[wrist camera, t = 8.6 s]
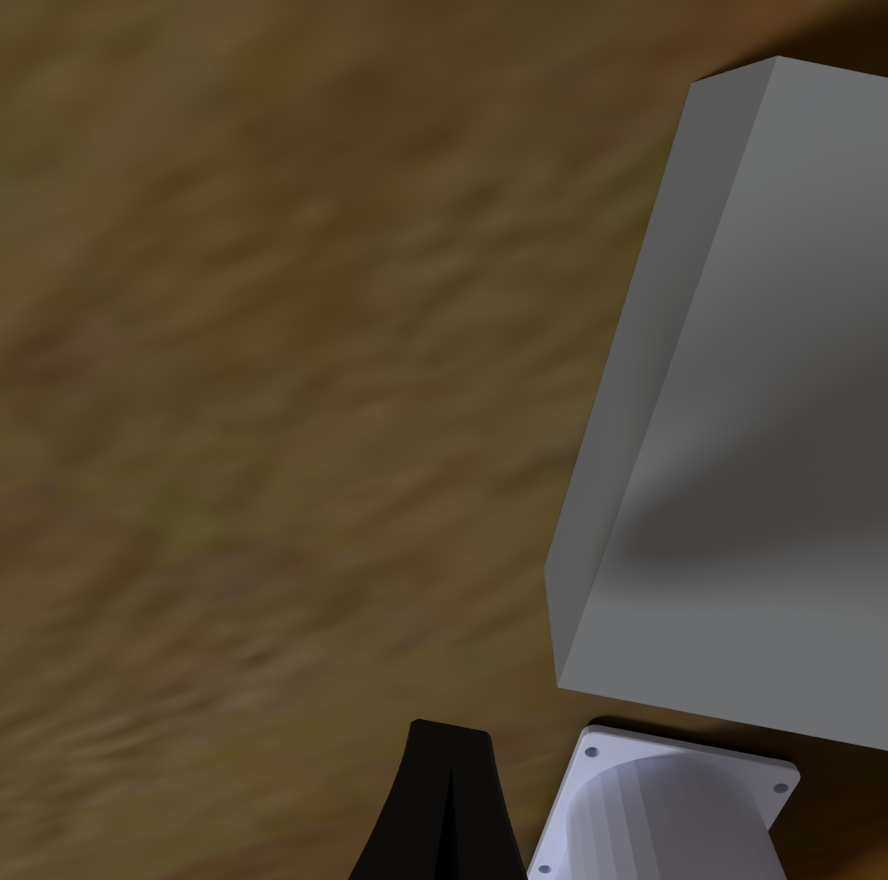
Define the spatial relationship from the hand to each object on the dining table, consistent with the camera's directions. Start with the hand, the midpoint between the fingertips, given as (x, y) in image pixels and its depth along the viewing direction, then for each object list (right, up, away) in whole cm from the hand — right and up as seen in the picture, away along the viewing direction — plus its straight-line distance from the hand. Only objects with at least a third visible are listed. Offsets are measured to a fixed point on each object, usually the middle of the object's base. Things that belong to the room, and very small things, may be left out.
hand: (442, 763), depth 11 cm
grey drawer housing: (+11, +6, +7) cm, 15 cm away
